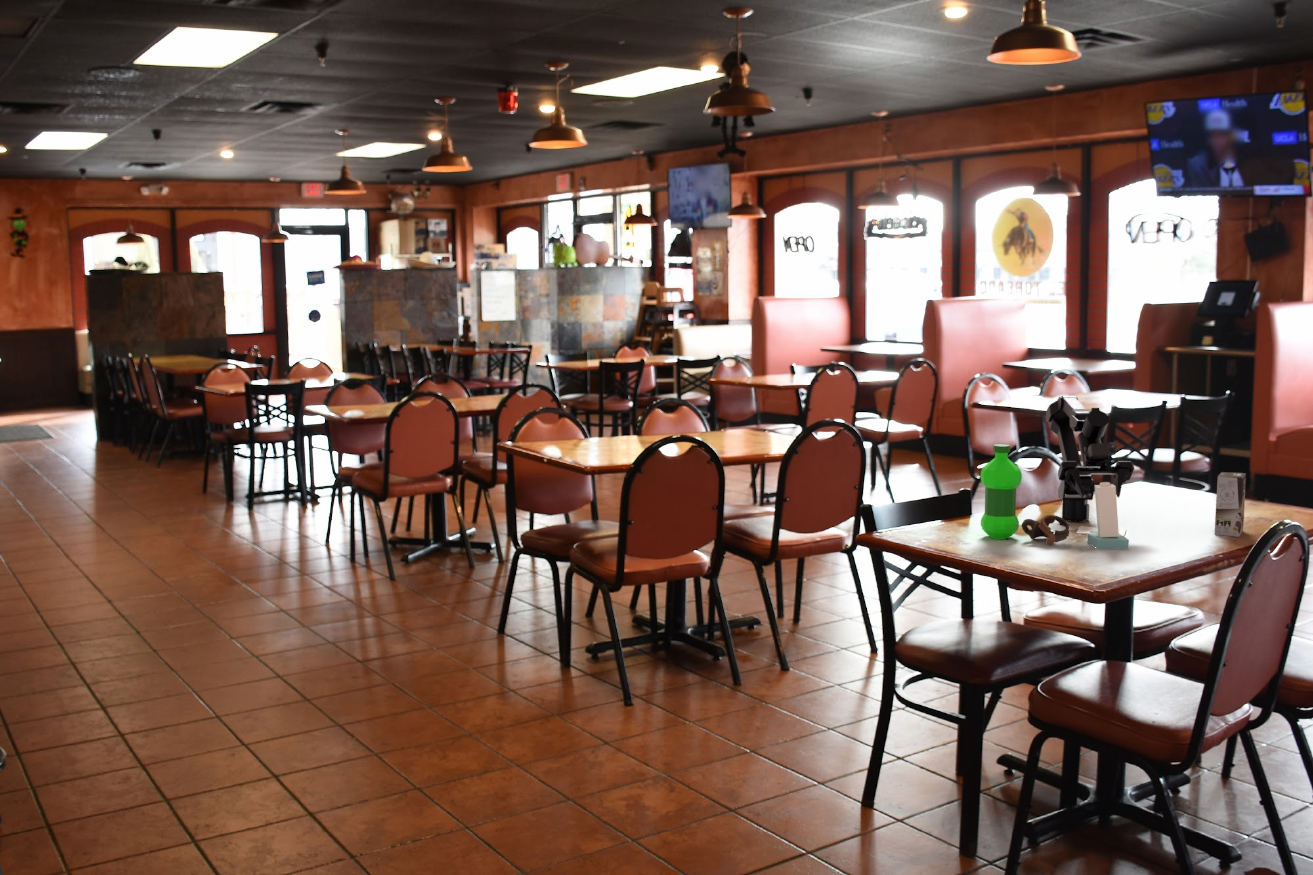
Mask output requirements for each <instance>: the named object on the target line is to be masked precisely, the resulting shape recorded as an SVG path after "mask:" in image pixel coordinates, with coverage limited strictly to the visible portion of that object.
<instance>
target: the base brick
mask: <svg viewBox="0 0 1313 875" xmlns="http://www.w3.org/2000/svg"><path fill="white" fill-rule="evenodd" d="M1129 542H1130V540H1129V539H1128V538H1127V537H1125V535H1124V536H1122V535H1121V534H1119V537H1101V538H1100V536H1099V535H1098V533H1088V534H1087V544H1089V543H1090V544H1091V546H1092V545H1093V546H1094V547H1096V548H1097V549H1096V548H1095V549H1096V550H1129V548H1130V547H1129V545H1130V544H1129ZM1090 544H1089V545H1090ZM1093 546H1092V547H1093ZM1094 547H1093V548H1094Z"/></svg>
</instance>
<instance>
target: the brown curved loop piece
mask: <svg viewBox="0 0 1313 875" xmlns="http://www.w3.org/2000/svg"><path fill="white" fill-rule="evenodd" d="M1055 522H1058V525H1059V526H1060V527H1061V526H1062V527H1065V529H1062V530H1057V529H1055V530H1054V531H1052V527H1050V525H1051V524H1052V525H1053V524H1054V523H1055ZM1028 526H1030V527H1031V529H1030V528H1029V527H1028ZM1021 528H1022V531H1023V532H1024V533H1025V534H1026V535H1028V537H1029V538H1030V539H1031V540H1033V539H1034V540H1035V539H1037V538H1046V540H1045V544H1046V545H1047V546H1050V545H1052V546H1053V545H1054V544H1055V543H1059V542H1061V541H1064V540H1066V539H1068V537H1069V535H1070V530H1069V529H1070V525H1069V523H1068V521H1065V520H1064V519H1063V518H1062V516H1058V515H1055V514H1045V515H1043V516H1042V517H1041V518H1039V519H1038V520H1034V519H1031V518H1026V519H1025V520H1023V522H1022V523H1021Z"/></svg>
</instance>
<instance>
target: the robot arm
mask: <svg viewBox="0 0 1313 875" xmlns="http://www.w3.org/2000/svg"><path fill="white" fill-rule="evenodd" d="M1045 421H1046V423H1047V424H1048V427H1049V430H1050V431H1052V432H1053V433H1054V434H1055V435H1056V436H1057V440H1058V444H1059V449H1060V454H1061V457H1062V461H1061V462H1060V465H1059V468H1058V471H1057V477H1058V480H1059V481H1060V484H1059V486H1058V489H1057V495H1058V496H1057V497H1058V498H1059V499H1060V500H1061V501H1062V504H1061V505H1062V509H1061V518H1063V519H1064V520H1065V521H1066V522H1072V523H1075V522H1076V523H1084V522H1086V521H1088V520H1089V519H1090V504H1089V502H1088V501H1093V498H1094V495H1095V485H1096V483H1095V481H1094V479H1093V477H1092V475H1112V476H1113V479H1114V480H1113V485H1114V486H1116V498H1120V496H1121V490H1122V485H1123V484H1124V483H1127V481H1129V480H1131V477H1132V475H1133V473H1134V470H1135V465H1134V463H1133V462H1132V461H1130V460H1117V461H1116V463H1115V466H1107V464H1109V461H1110V460H1109V457H1110V456H1115V455H1116V454H1117V451H1118V449H1117V444H1116V441H1108V443H1102V441H1101V439H1102V438H1103V437H1104V435H1105V433H1106V431H1107V429H1108V428H1107V427H1108V425H1109V422H1110V416H1108V415H1107V413H1106V412H1104V411H1102V410H1100V408H1099V407H1091V408H1090V409H1088V408H1086V407H1085V406H1084V405H1083V404H1082V403H1081V402H1080V401H1079V398H1078V396H1075V395H1062V396H1058V398H1057V400H1056V401H1054V402H1052V403H1050V404H1049V405H1048V407H1047V409H1046V412H1045ZM1075 433H1078V435H1077V439H1076V437H1075V436H1076V435H1075ZM1076 440H1077V441H1078V443H1077V441H1076ZM1078 446H1079V449H1078ZM1079 452H1080V453H1079ZM1080 455H1081V457H1080Z"/></svg>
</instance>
